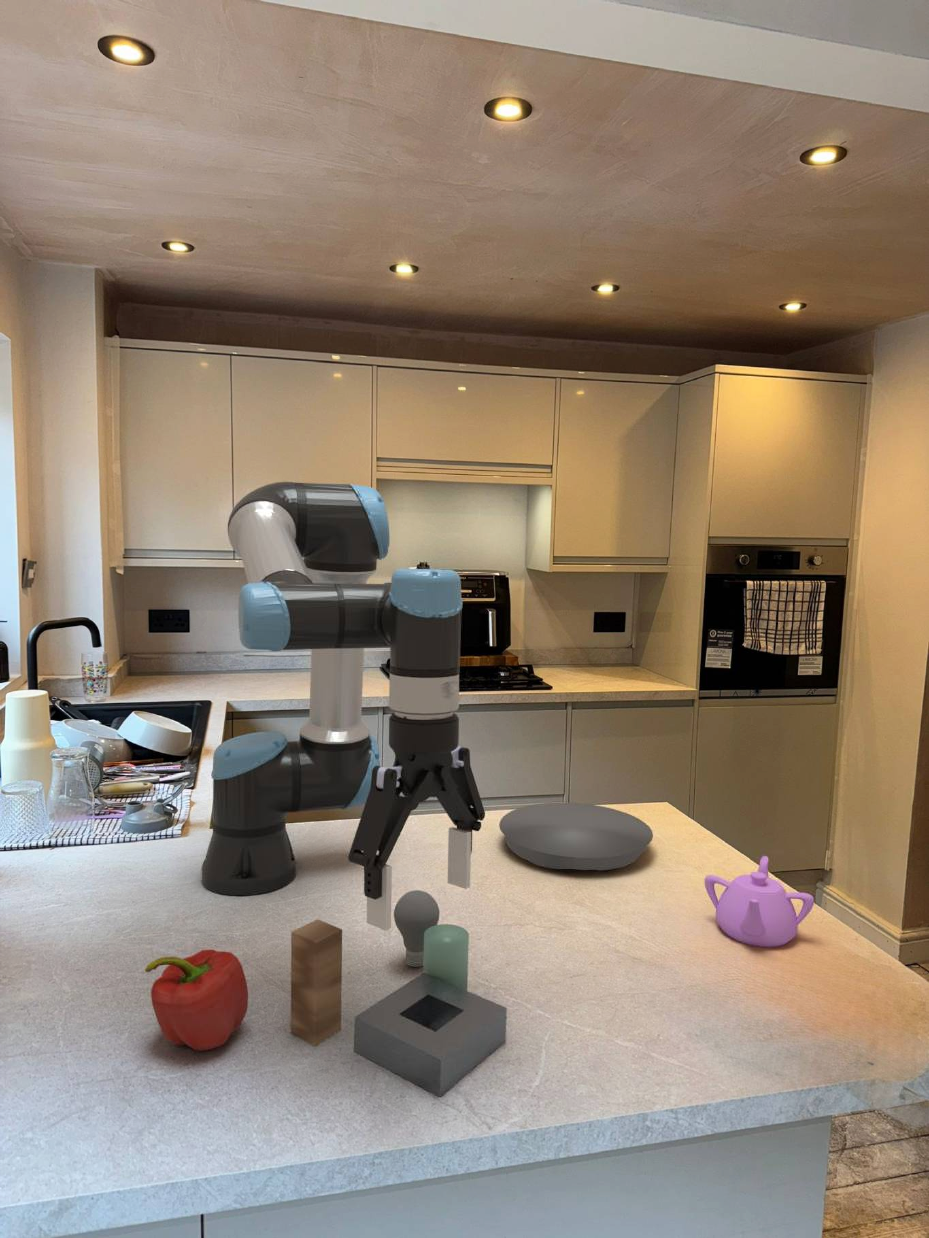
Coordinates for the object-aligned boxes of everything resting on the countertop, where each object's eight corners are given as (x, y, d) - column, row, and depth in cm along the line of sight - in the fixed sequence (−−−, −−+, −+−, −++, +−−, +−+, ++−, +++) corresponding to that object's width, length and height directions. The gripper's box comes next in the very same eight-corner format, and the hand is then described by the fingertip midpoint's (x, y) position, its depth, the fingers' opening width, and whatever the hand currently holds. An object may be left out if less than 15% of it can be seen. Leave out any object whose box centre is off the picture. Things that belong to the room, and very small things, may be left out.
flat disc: (505, 819, 168) (506, 798, 168) (645, 829, 164) (646, 807, 164) (490, 876, 141) (491, 851, 140) (658, 889, 137) (660, 863, 136)
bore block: (354, 1051, 91) (354, 1016, 90) (423, 1003, 100) (423, 972, 100) (440, 1097, 84) (441, 1059, 83) (505, 1041, 93) (506, 1007, 93)
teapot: (762, 908, 130) (766, 853, 129) (822, 951, 116) (827, 890, 115) (695, 915, 126) (698, 859, 125) (749, 960, 113) (753, 898, 112)
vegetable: (148, 1077, 85) (147, 985, 84) (143, 1023, 95) (142, 939, 94) (255, 1053, 90) (255, 966, 89) (240, 1004, 99) (241, 924, 98)
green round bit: (413, 998, 101) (414, 935, 101) (441, 979, 106) (442, 920, 105) (448, 1014, 98) (450, 950, 97) (475, 994, 103) (477, 933, 102)
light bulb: (444, 958, 111) (446, 887, 110) (428, 980, 106) (430, 905, 105) (403, 950, 113) (405, 879, 112) (385, 971, 108) (386, 897, 107)
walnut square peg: (290, 1032, 94) (291, 931, 93) (316, 1017, 97) (317, 919, 96) (315, 1046, 91) (316, 942, 90) (340, 1029, 95) (342, 929, 93)
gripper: (369, 736, 76) (367, 957, 78) (517, 701, 96) (512, 878, 98) (313, 725, 81) (312, 934, 83) (465, 694, 101) (462, 863, 102)
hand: (421, 904), depth 90 cm, fingers open, 13 cm apart
